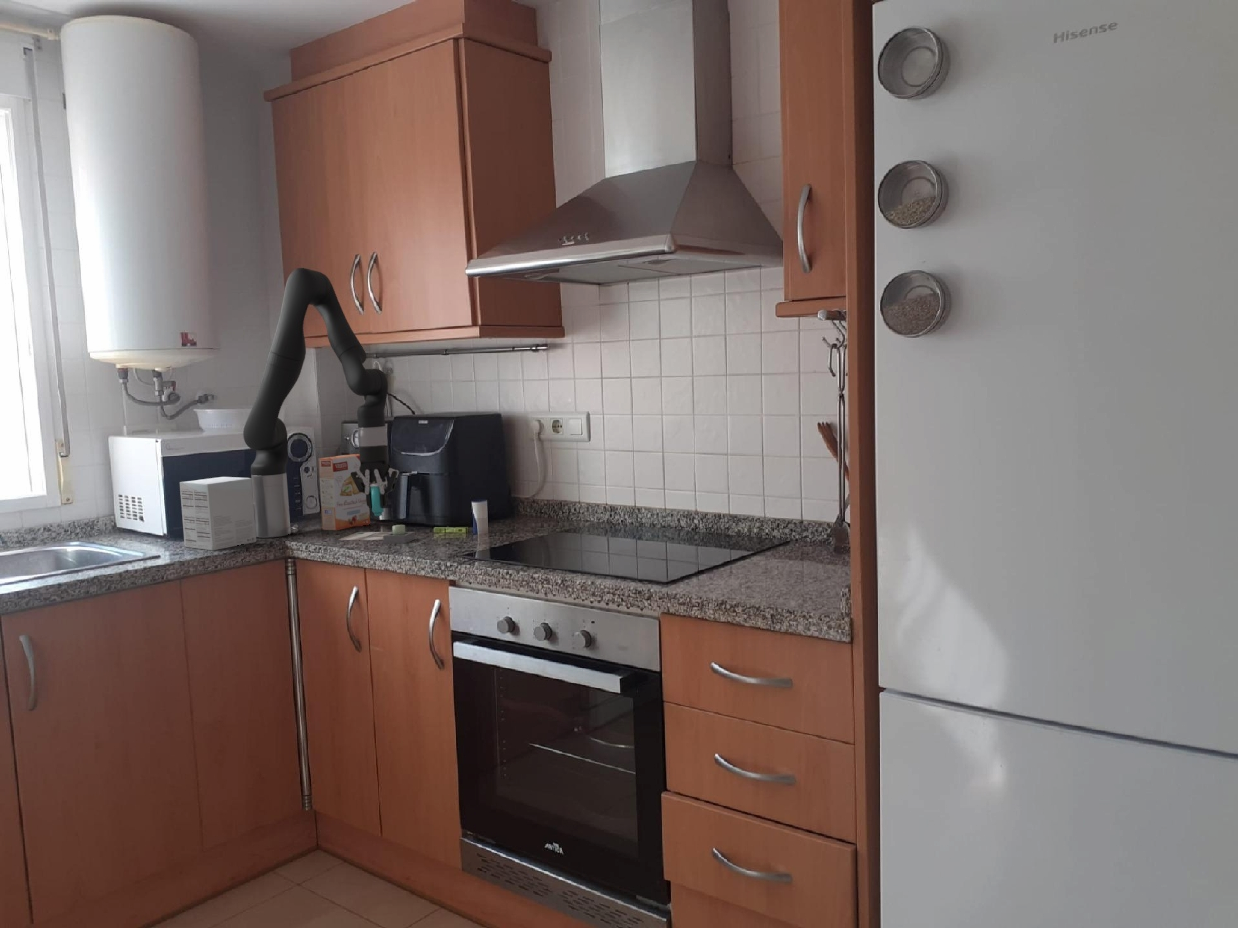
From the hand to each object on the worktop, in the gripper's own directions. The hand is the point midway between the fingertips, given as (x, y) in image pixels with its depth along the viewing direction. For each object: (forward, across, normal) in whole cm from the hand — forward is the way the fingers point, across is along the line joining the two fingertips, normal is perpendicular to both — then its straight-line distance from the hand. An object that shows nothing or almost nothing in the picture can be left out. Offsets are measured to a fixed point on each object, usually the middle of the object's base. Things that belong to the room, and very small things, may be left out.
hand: (377, 507), depth 264 cm
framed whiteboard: (+8, -1, -2) cm, 8 cm away
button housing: (+8, +10, -10) cm, 16 cm away
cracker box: (+8, -17, +14) cm, 24 cm away
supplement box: (+8, -40, -12) cm, 43 cm away
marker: (+2, 0, 0) cm, 2 cm away
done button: (+7, +10, -10) cm, 16 cm away
